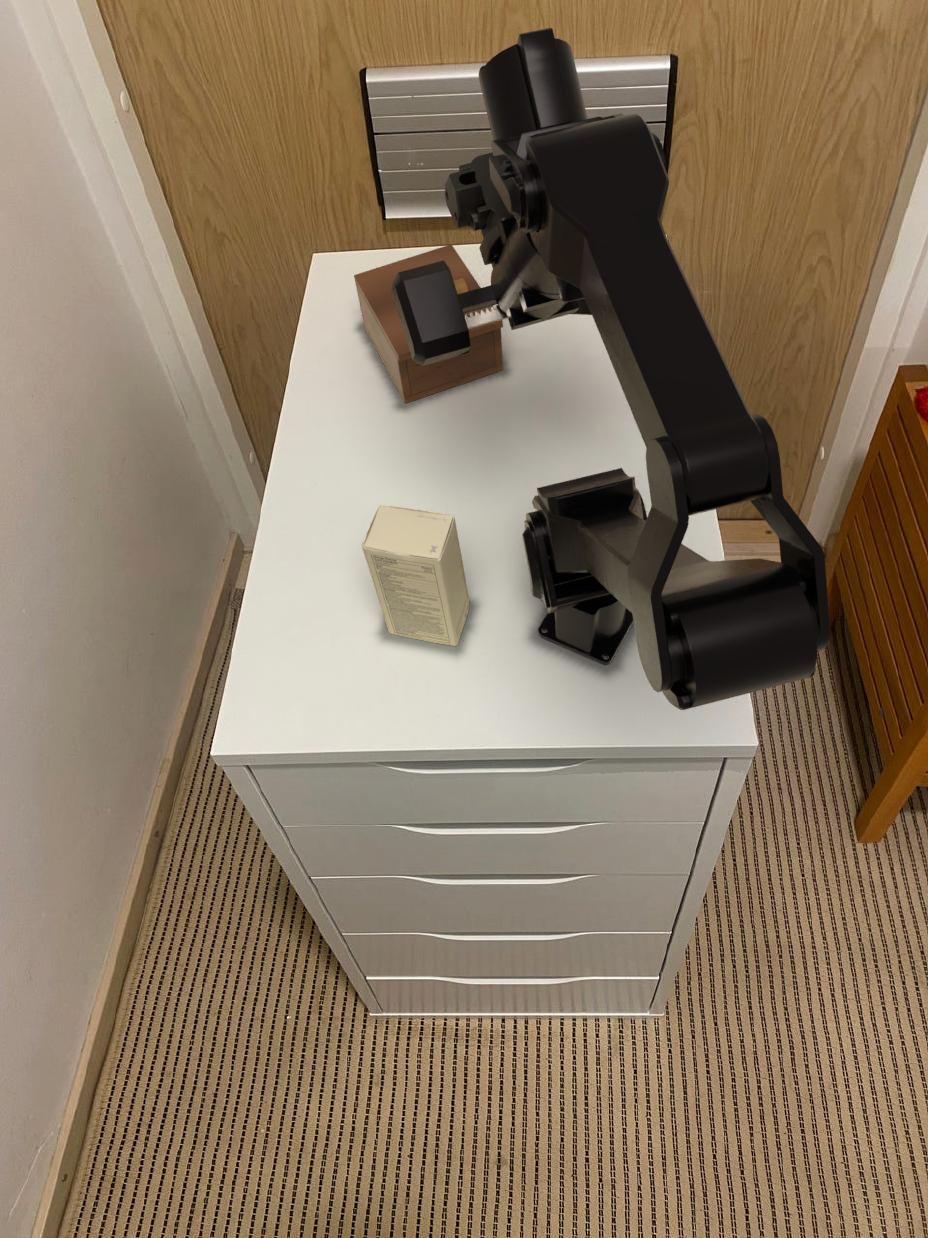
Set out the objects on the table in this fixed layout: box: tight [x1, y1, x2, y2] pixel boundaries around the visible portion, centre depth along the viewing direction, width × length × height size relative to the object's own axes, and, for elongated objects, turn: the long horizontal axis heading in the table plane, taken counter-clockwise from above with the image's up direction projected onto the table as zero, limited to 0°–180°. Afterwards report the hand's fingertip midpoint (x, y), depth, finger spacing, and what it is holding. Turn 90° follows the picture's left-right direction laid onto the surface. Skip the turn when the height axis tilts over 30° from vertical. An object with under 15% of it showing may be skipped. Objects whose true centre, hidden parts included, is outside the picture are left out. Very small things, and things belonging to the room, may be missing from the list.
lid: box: [353, 243, 504, 362], centre depth 91 cm, size 13×11×5 cm
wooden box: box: [355, 283, 504, 404], centre depth 95 cm, size 13×11×6 cm
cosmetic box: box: [361, 504, 471, 647], centre depth 74 cm, size 6×4×12 cm
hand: (506, 321), depth 75 cm, fingers open, 9 cm apart
